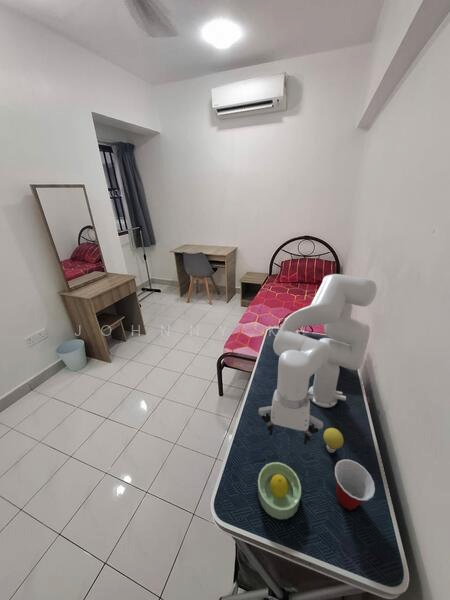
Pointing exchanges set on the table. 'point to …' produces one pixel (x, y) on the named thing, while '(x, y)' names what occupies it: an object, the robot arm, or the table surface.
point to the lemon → (279, 486)
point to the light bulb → (333, 439)
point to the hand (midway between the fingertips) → (287, 435)
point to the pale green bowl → (271, 503)
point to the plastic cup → (353, 484)
